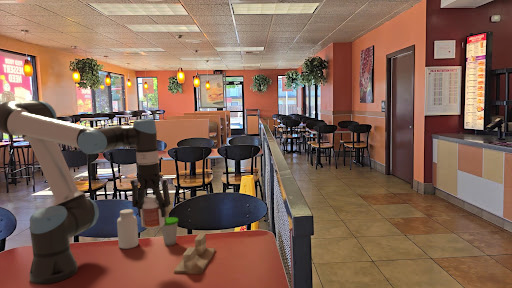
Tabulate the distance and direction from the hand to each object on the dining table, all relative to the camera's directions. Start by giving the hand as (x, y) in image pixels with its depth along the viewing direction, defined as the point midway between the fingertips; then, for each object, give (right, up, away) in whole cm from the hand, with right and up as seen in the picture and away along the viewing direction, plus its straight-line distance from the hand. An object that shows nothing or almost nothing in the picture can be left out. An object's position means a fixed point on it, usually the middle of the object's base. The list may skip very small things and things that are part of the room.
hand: (153, 225), depth 141 cm
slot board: (+15, -14, +5) cm, 21 cm away
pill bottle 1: (-16, -13, +22) cm, 30 cm away
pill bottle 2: (0, -1, 0) cm, 1 cm away
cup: (+1, -13, +23) cm, 26 cm away
